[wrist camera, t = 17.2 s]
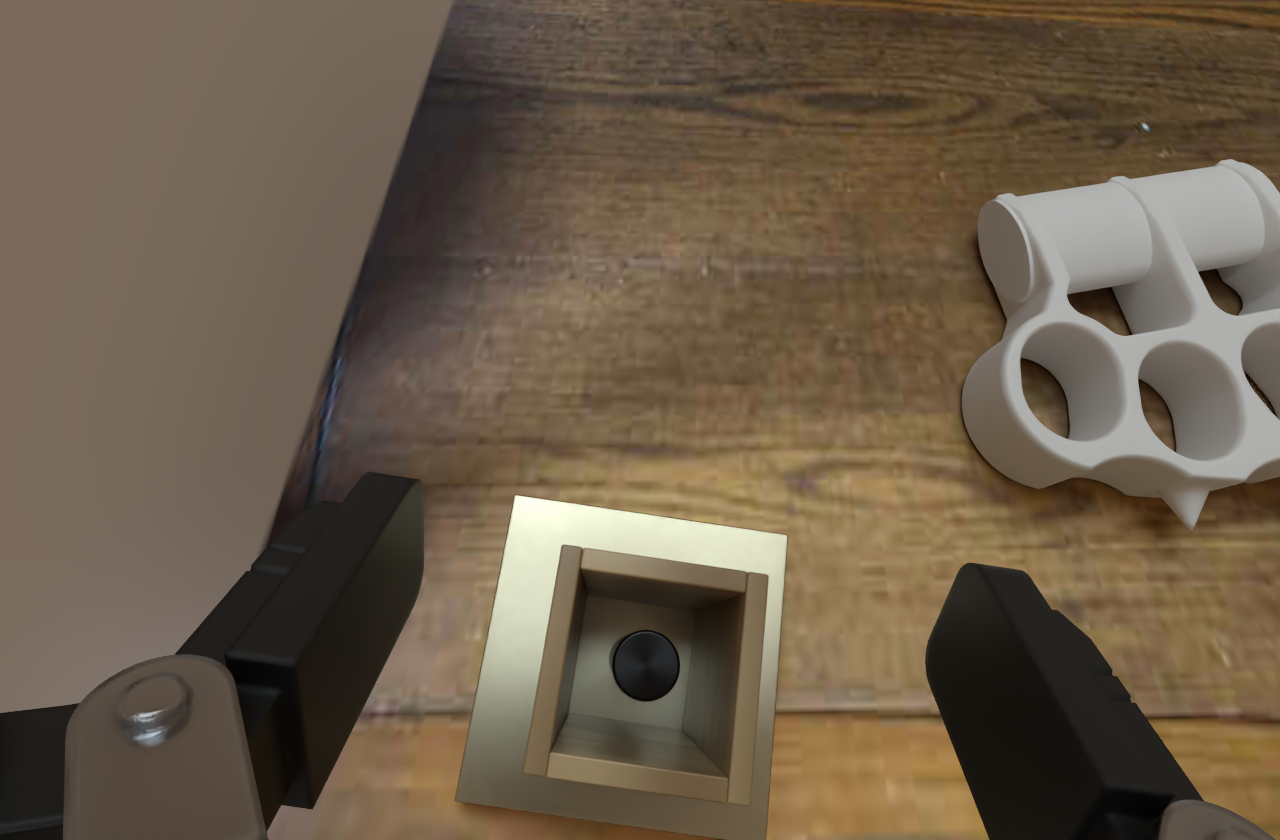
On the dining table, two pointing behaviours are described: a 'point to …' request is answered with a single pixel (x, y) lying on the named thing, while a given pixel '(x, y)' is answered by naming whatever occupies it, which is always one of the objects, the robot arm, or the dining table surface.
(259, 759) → the robot arm
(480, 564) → the dining table surface
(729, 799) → the birch sleeve
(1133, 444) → the white brass knuckles
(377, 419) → the dining table surface
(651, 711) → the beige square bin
